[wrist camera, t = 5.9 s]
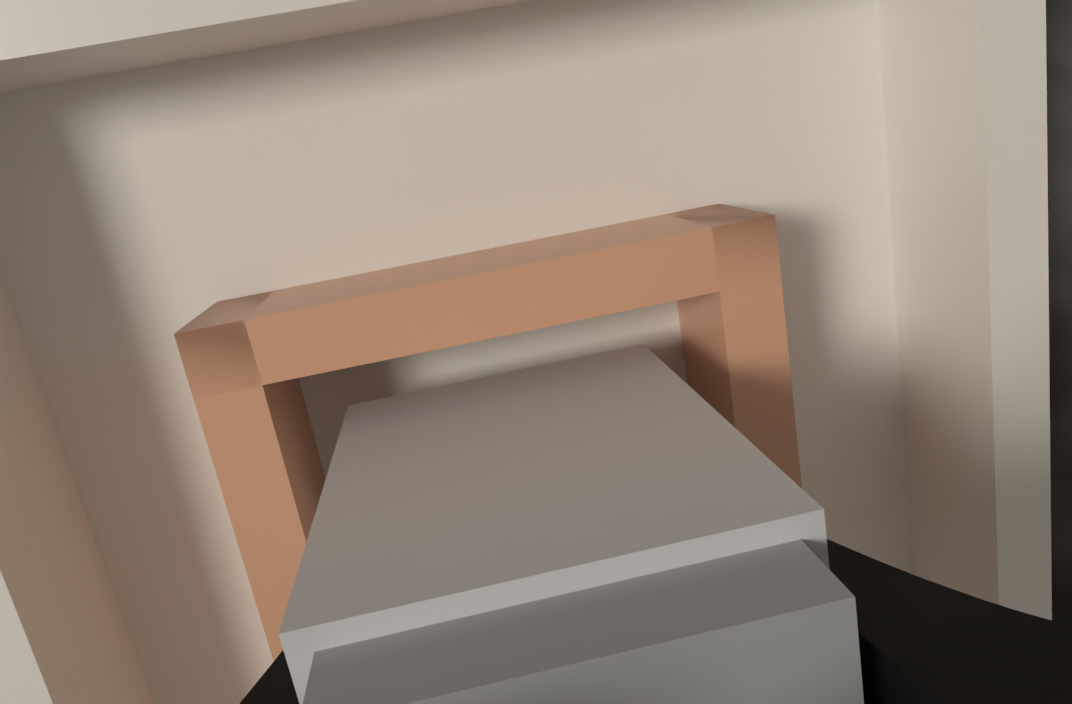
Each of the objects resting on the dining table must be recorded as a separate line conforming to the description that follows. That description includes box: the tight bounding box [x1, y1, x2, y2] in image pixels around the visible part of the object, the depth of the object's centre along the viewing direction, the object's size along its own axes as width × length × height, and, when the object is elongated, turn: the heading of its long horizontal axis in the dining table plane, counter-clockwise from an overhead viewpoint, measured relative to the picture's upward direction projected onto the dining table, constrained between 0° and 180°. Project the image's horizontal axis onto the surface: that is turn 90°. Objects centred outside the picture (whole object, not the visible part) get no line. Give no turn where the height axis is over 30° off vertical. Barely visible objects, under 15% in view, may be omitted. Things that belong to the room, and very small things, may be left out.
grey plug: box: [279, 344, 864, 704], centre depth 9 cm, size 5×4×6 cm
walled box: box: [0, 0, 1052, 704], centre depth 12 cm, size 16×14×3 cm
